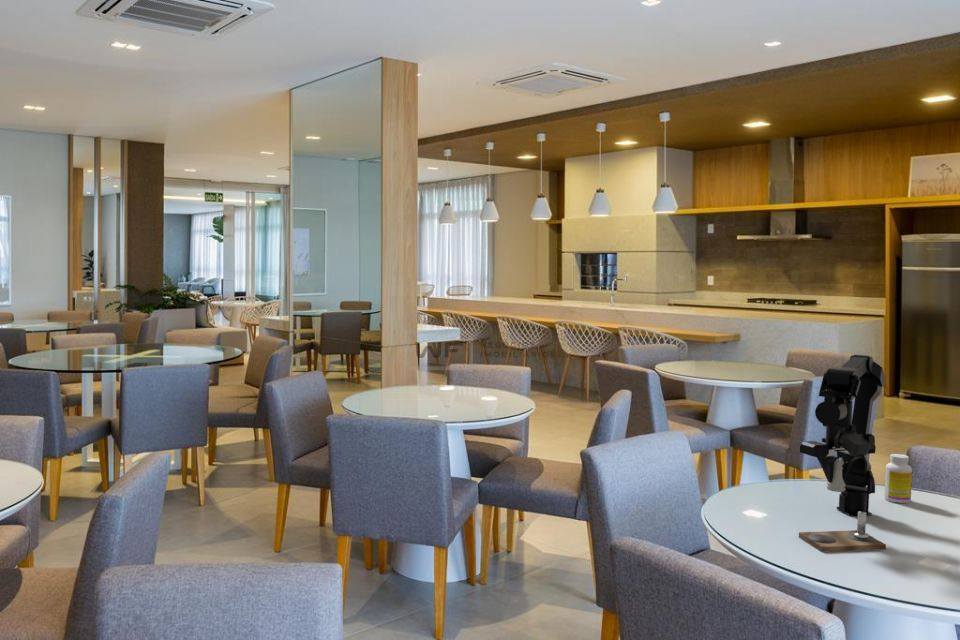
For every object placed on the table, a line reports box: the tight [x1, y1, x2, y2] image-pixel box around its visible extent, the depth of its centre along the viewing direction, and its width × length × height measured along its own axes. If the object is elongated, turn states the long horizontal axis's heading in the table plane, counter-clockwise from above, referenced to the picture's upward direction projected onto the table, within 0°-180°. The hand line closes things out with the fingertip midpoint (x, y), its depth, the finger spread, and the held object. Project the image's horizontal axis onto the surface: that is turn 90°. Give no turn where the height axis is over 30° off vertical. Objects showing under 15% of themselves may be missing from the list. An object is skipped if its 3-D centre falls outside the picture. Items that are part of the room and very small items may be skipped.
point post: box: [854, 511, 870, 539], centre depth 191 cm, size 3×3×6 cm
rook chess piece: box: [826, 458, 846, 493], centre depth 199 cm, size 4×4×8 cm
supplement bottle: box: [884, 453, 913, 504], centre depth 225 cm, size 7×7×13 cm
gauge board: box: [798, 529, 887, 553], centre depth 190 cm, size 16×10×1 cm, turn 98°
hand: (836, 481), depth 199 cm, fingers closed on rook chess piece, 3 cm apart
